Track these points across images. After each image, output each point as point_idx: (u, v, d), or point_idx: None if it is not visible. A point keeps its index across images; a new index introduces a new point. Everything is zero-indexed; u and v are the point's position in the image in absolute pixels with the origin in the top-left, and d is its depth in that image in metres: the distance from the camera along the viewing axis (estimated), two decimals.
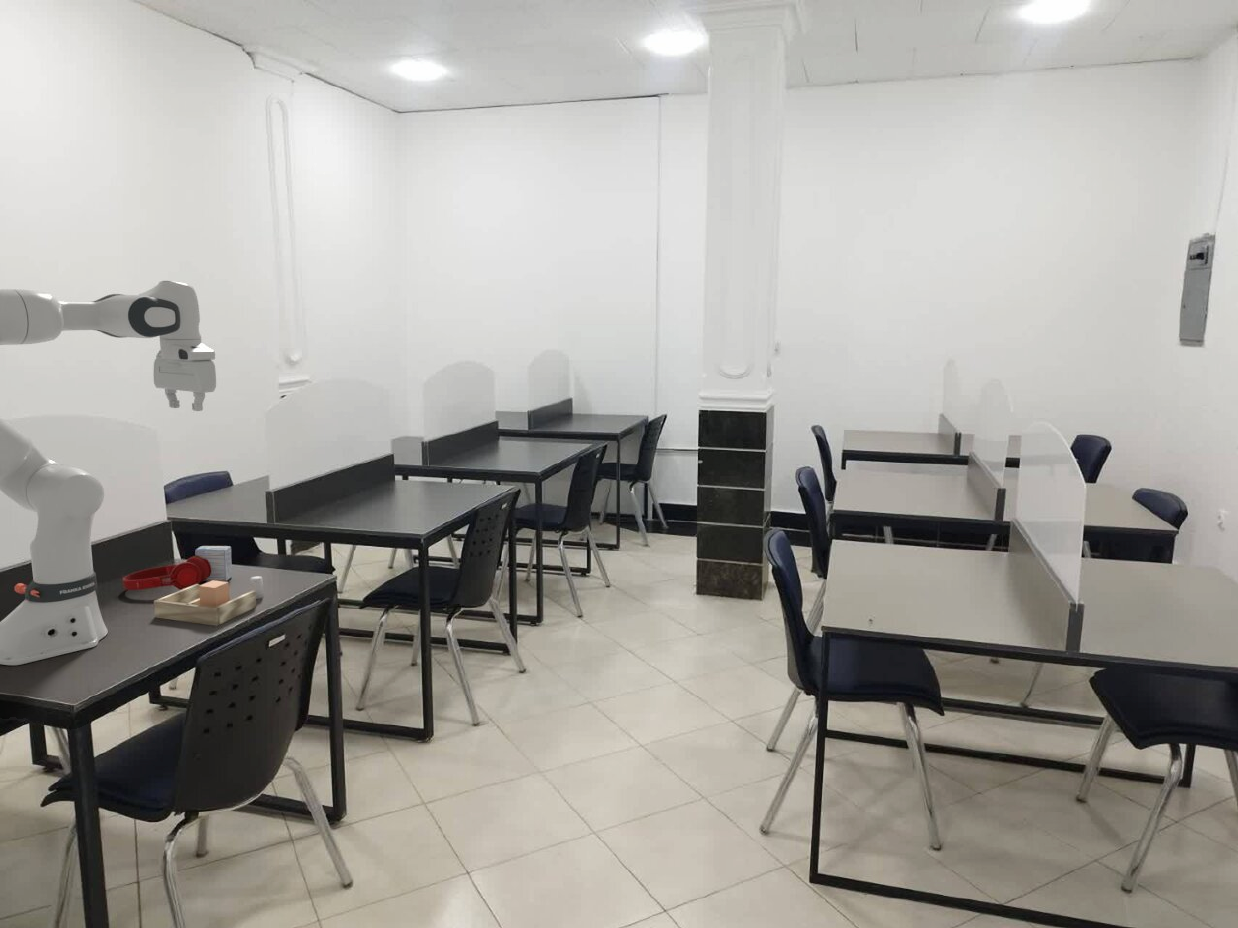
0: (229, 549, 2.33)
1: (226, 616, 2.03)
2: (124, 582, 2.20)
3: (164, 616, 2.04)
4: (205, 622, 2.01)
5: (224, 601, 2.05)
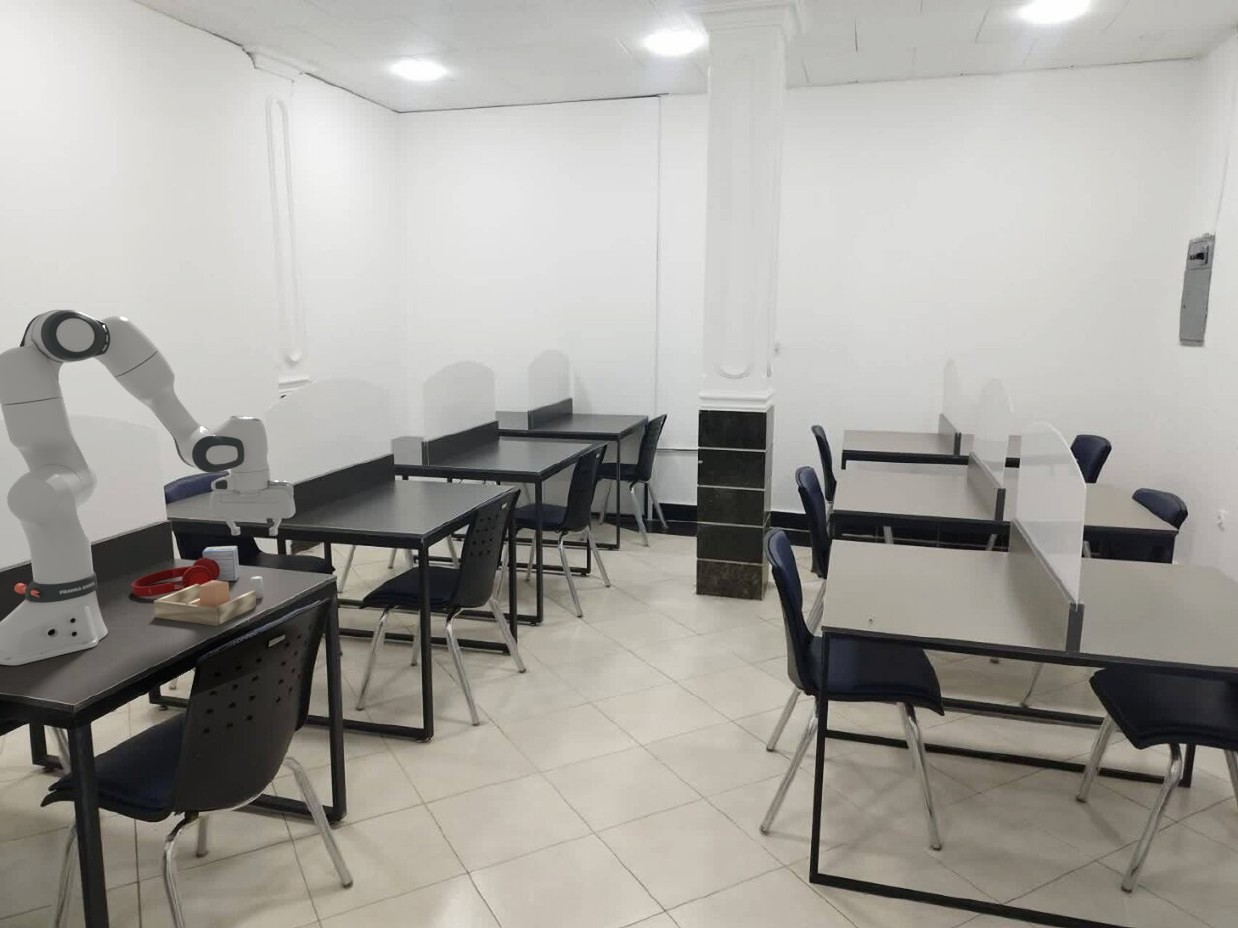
0: (236, 549, 2.33)
1: (226, 616, 2.03)
2: (134, 589, 2.19)
3: (164, 616, 2.04)
4: (205, 622, 2.01)
5: (224, 601, 2.05)
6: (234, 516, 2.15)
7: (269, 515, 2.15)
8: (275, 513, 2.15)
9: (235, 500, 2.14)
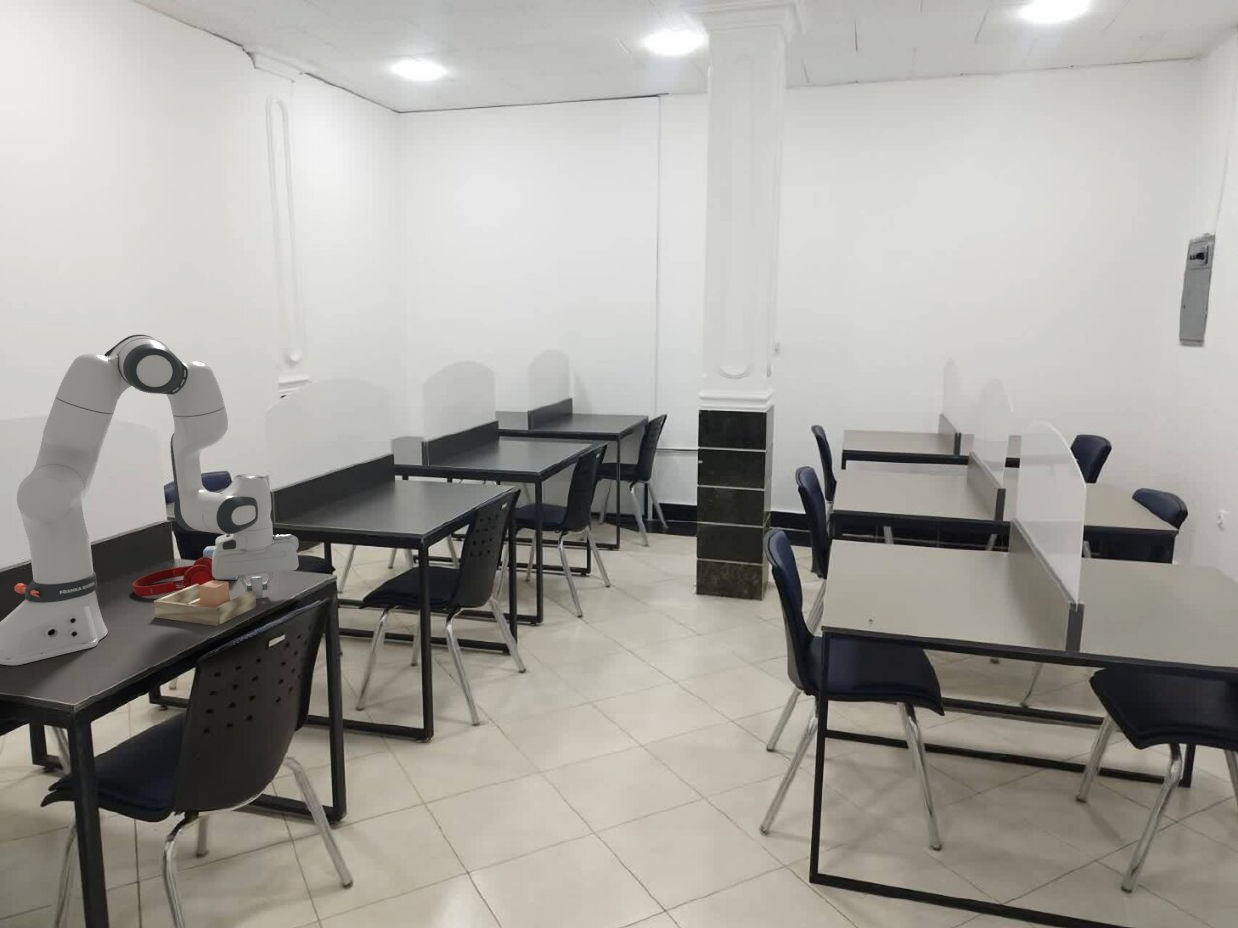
0: None
1: (226, 616, 2.03)
2: (136, 588, 2.19)
3: (164, 616, 2.04)
4: (205, 622, 2.01)
5: (224, 601, 2.06)
6: (239, 574, 2.16)
7: (276, 569, 2.19)
8: (283, 566, 2.20)
9: (240, 559, 2.15)
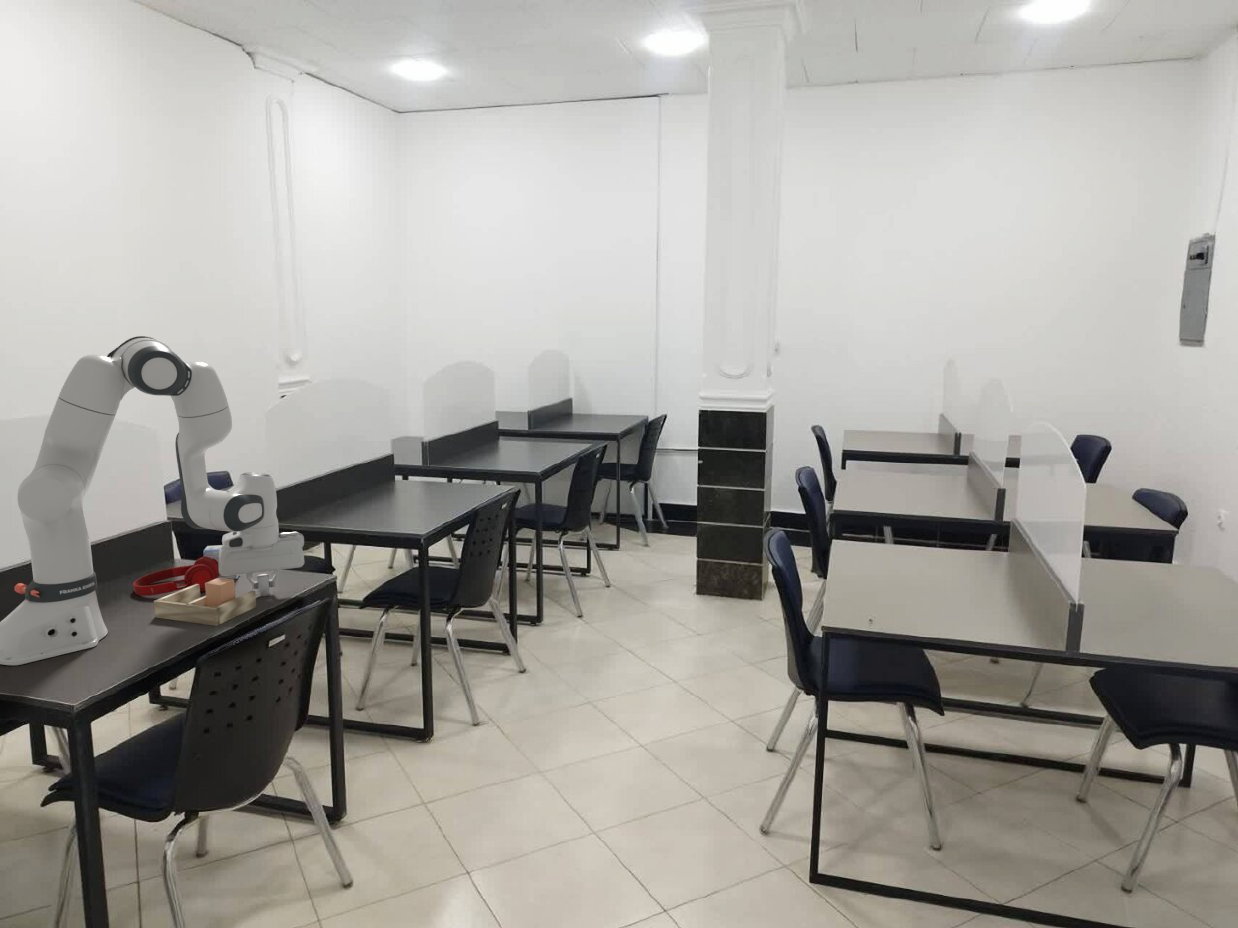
0: None
1: (226, 616, 2.03)
2: (136, 588, 2.19)
3: (164, 616, 2.04)
4: (205, 622, 2.01)
5: (230, 598, 2.07)
6: (246, 572, 2.17)
7: (282, 566, 2.21)
8: (289, 563, 2.22)
9: (247, 556, 2.17)
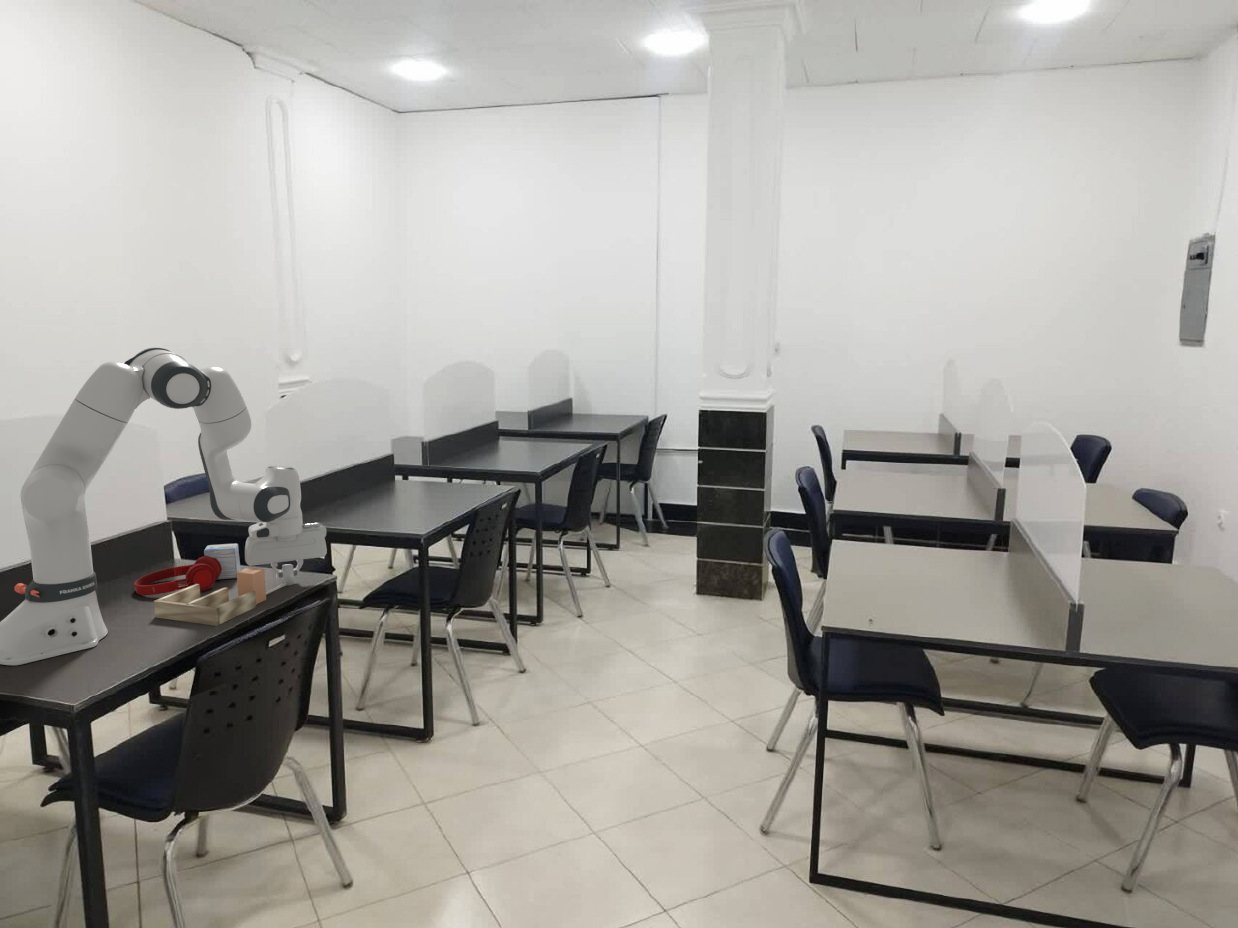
0: (237, 546, 2.35)
1: (226, 616, 2.03)
2: (138, 588, 2.20)
3: (164, 616, 2.04)
4: (205, 622, 2.01)
5: (260, 587, 2.16)
6: (271, 561, 2.27)
7: (306, 556, 2.31)
8: (312, 553, 2.31)
9: (273, 546, 2.26)
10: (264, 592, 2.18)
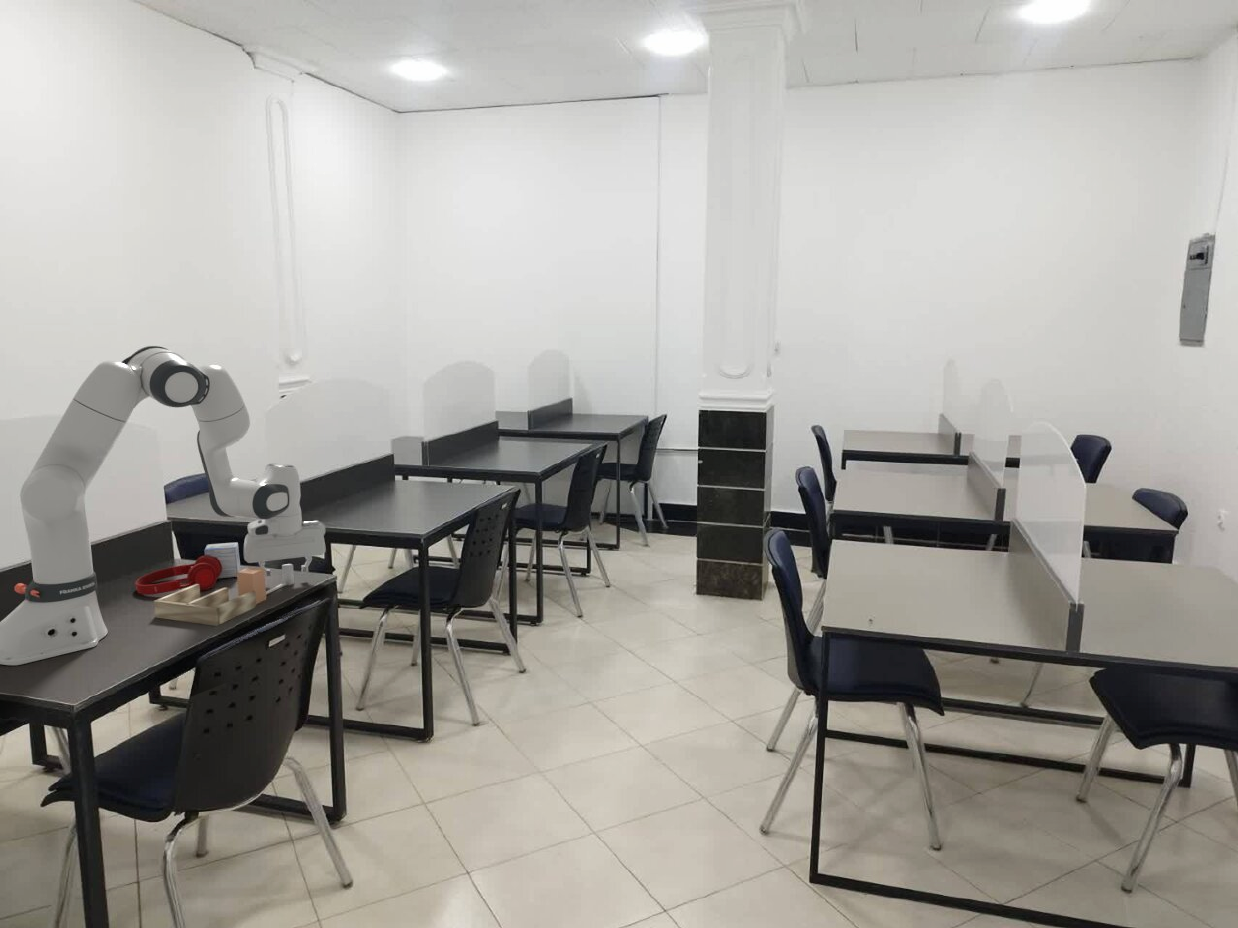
0: (237, 545, 2.36)
1: (226, 616, 2.03)
2: (139, 587, 2.20)
3: (164, 616, 2.04)
4: (205, 622, 2.01)
5: (261, 587, 2.16)
6: (270, 559, 2.27)
7: (305, 554, 2.31)
8: (311, 551, 2.31)
9: (271, 544, 2.26)
10: (264, 592, 2.18)
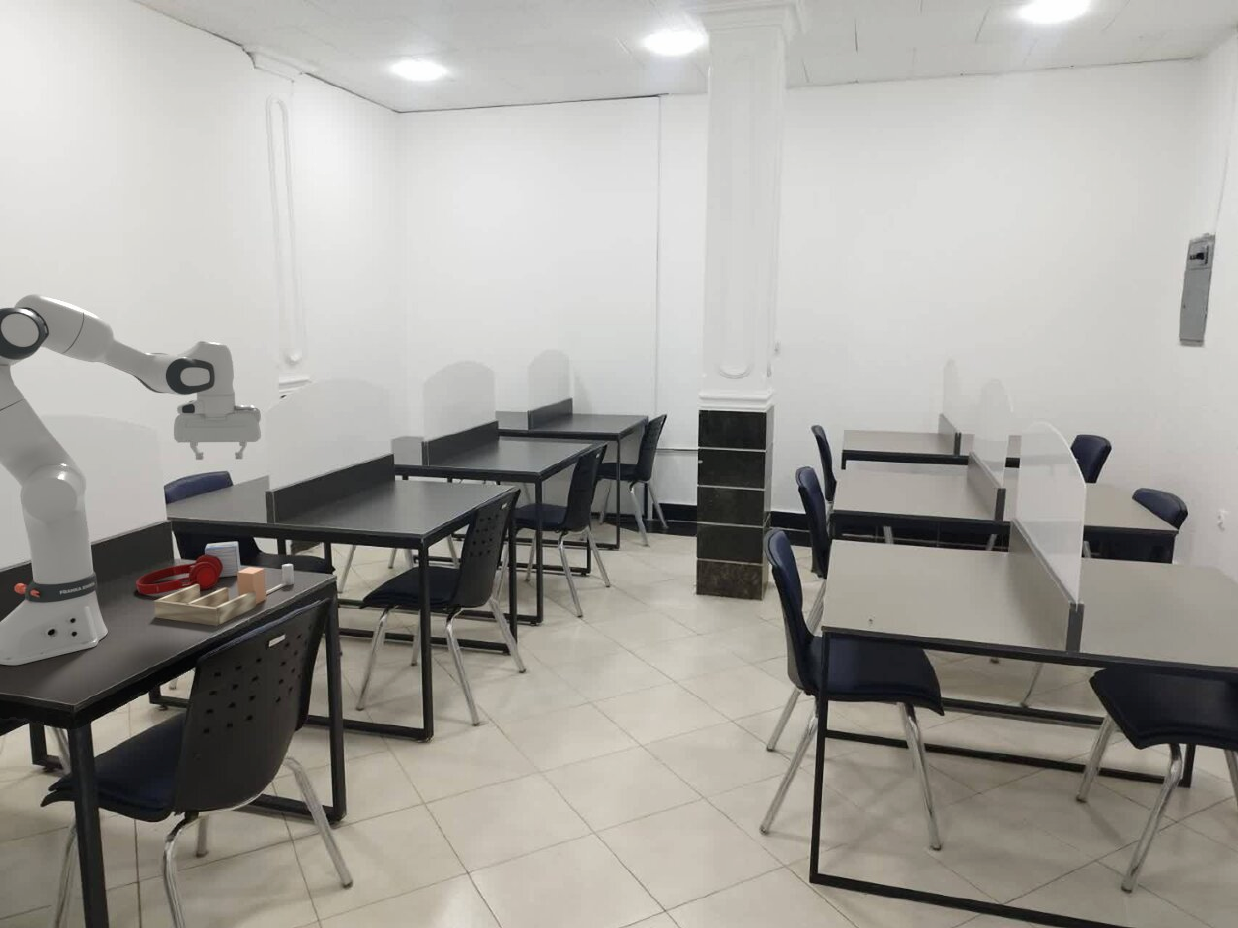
0: (237, 544, 2.37)
1: (226, 616, 2.03)
2: (140, 587, 2.20)
3: (164, 616, 2.04)
4: (205, 622, 2.01)
5: (261, 587, 2.16)
6: (200, 440, 2.20)
7: (236, 439, 2.22)
8: (243, 437, 2.22)
9: (201, 425, 2.20)
10: (264, 592, 2.18)
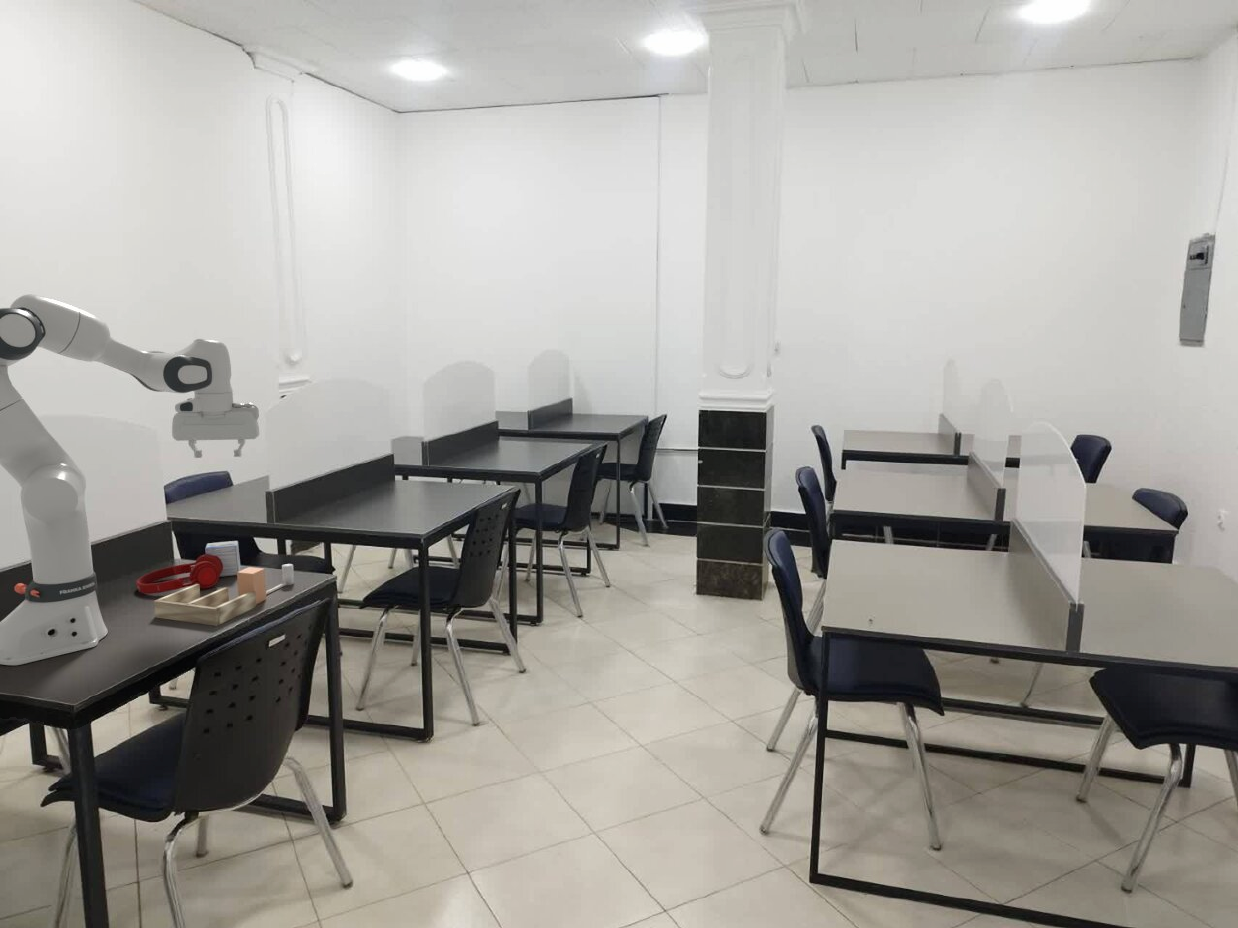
0: (237, 544, 2.37)
1: (226, 616, 2.03)
2: (141, 586, 2.21)
3: (164, 616, 2.04)
4: (205, 622, 2.01)
5: (261, 587, 2.16)
6: (198, 438, 2.20)
7: (235, 436, 2.22)
8: (241, 434, 2.22)
9: (199, 423, 2.20)
10: (264, 592, 2.18)
